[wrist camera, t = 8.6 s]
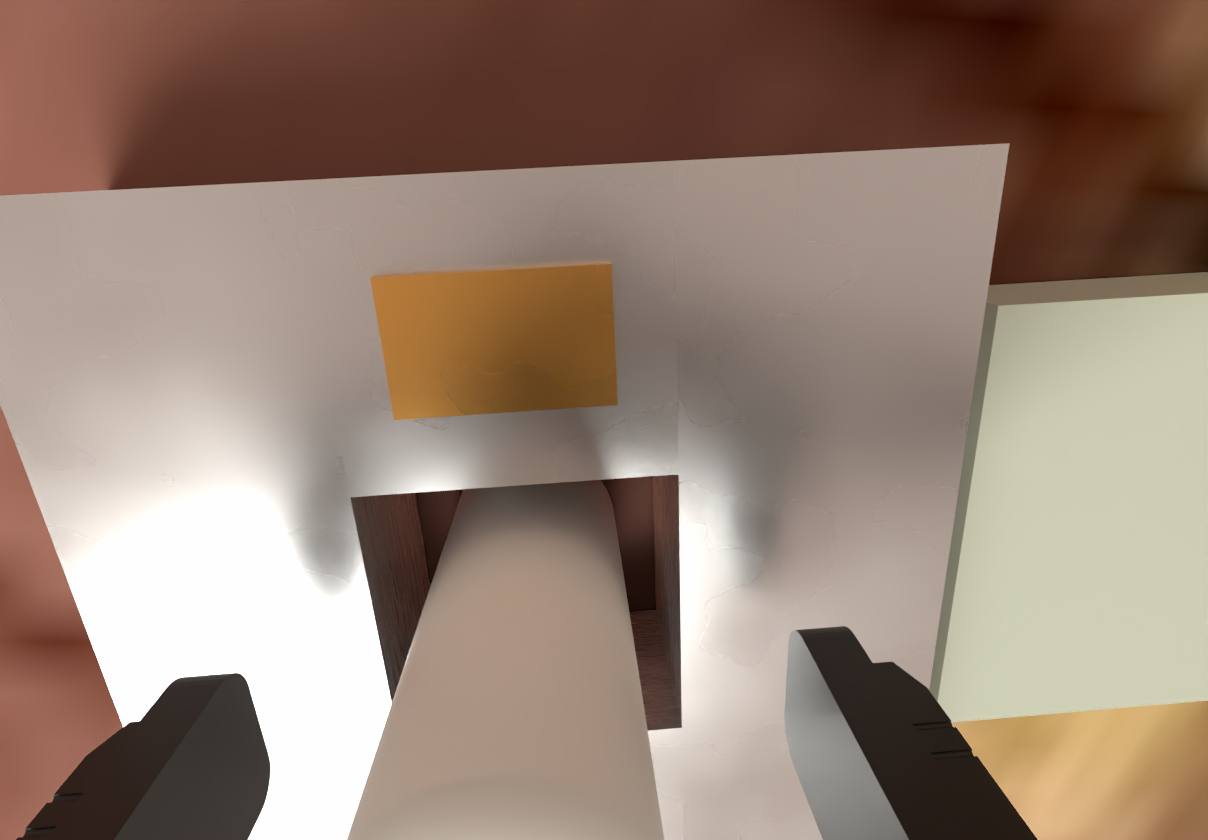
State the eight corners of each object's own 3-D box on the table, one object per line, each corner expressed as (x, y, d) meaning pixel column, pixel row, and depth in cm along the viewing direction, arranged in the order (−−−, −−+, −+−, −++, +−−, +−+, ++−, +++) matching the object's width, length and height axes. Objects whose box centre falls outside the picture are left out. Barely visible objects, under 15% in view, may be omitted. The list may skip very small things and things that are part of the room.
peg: (611, 444, 14) (670, 761, 6) (616, 583, 15) (671, 995, 7) (446, 453, 14) (301, 791, 6) (465, 594, 15) (362, 1023, 7)
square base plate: (1303, 266, 13) (1426, 279, 11) (1191, 636, 16) (1273, 694, 14) (935, 288, 13) (998, 305, 11) (890, 660, 16) (933, 723, 14)
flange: (887, 154, 12) (1019, 141, 9) (835, 744, 17) (906, 890, 13) (105, 196, 12) (-92, 200, 8) (279, 792, 16) (201, 957, 13)
